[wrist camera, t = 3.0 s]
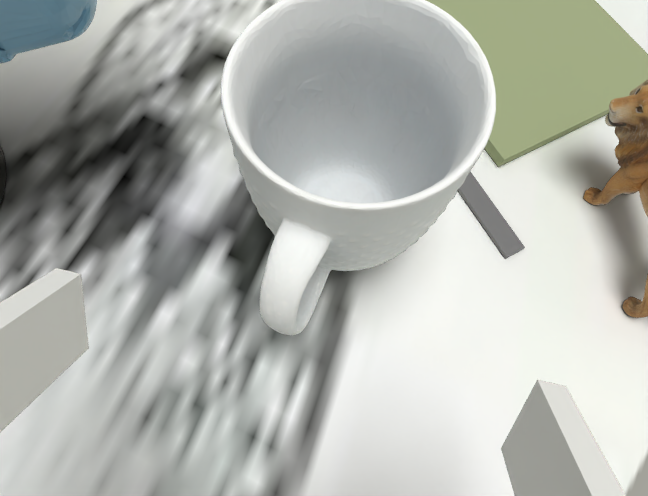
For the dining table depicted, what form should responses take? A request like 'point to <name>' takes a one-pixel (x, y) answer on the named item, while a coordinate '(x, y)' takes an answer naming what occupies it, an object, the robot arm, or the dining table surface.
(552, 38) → the mat
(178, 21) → the dining table surface
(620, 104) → the lion figurine
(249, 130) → the mug
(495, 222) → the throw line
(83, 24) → the robot arm
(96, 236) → the dining table surface
